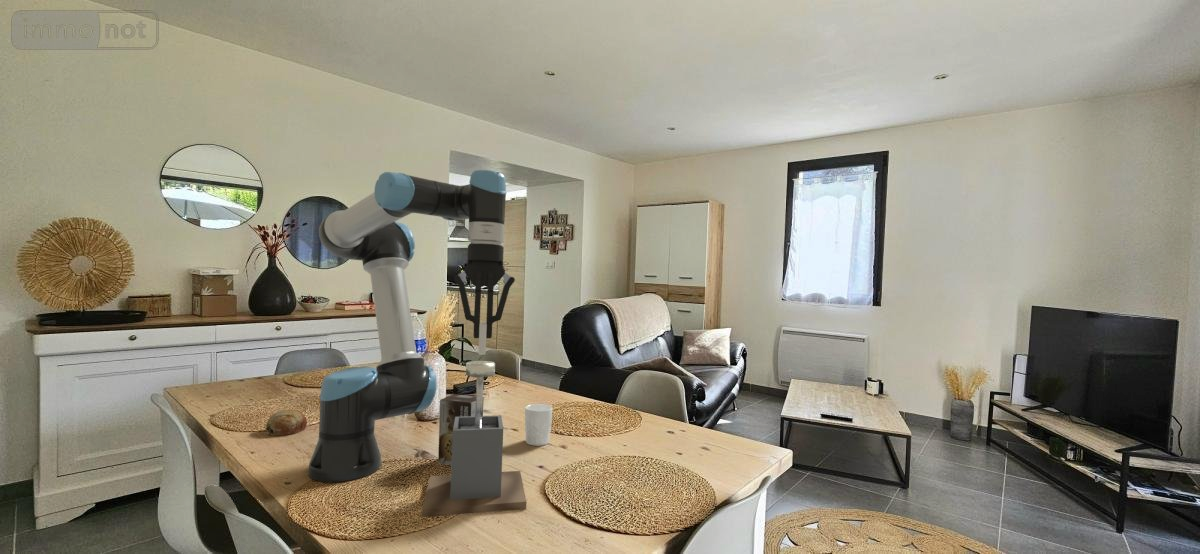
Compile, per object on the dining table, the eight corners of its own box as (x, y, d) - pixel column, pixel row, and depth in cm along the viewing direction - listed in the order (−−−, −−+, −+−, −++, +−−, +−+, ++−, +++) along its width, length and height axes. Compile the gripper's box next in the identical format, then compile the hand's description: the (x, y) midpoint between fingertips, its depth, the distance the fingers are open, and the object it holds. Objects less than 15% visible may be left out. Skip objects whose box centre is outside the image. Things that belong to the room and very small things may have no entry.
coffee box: (482, 459, 122) (485, 396, 122) (469, 468, 116) (471, 402, 116) (451, 455, 124) (453, 393, 125) (436, 463, 118) (439, 398, 118)
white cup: (549, 447, 133) (550, 411, 133) (521, 446, 133) (522, 410, 133) (552, 438, 141) (554, 404, 141) (526, 437, 141) (527, 403, 141)
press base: (421, 517, 91) (421, 509, 91) (429, 482, 107) (430, 476, 107) (526, 509, 96) (526, 501, 96) (519, 477, 112) (520, 470, 112)
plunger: (458, 440, 97) (461, 366, 97) (460, 429, 104) (463, 360, 105) (496, 439, 99) (499, 366, 99) (495, 428, 106) (498, 360, 107)
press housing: (450, 500, 95) (452, 430, 96) (452, 480, 105) (455, 416, 105) (500, 496, 98) (503, 428, 98) (498, 477, 108) (501, 415, 108)
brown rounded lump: (262, 444, 137) (252, 422, 134) (292, 420, 146) (283, 399, 143) (288, 449, 134) (278, 426, 131) (317, 424, 143) (308, 403, 140)
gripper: (453, 240, 97) (449, 356, 97) (518, 244, 100) (514, 356, 100) (455, 243, 104) (451, 351, 104) (515, 246, 107) (511, 351, 107)
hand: (482, 353), depth 102 cm, fingers closed
